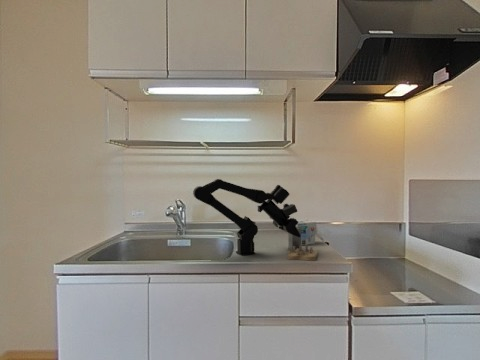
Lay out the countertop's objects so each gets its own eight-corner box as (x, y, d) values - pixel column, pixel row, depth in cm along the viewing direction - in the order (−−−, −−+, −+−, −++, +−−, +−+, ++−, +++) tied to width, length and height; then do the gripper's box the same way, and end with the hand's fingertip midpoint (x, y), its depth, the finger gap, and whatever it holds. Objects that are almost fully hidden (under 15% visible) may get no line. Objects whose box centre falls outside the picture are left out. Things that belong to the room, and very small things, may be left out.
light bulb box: (297, 246, 174) (297, 223, 173) (289, 243, 180) (289, 221, 180) (315, 243, 178) (315, 221, 178) (307, 241, 184) (307, 220, 184)
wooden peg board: (287, 259, 148) (287, 249, 148) (291, 252, 160) (291, 243, 160) (315, 260, 145) (315, 250, 145) (317, 253, 157) (317, 244, 157)
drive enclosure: (292, 251, 161) (292, 229, 161) (288, 249, 166) (288, 227, 166) (301, 251, 162) (300, 228, 162) (296, 249, 167) (296, 227, 167)
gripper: (293, 199, 153) (318, 225, 156) (279, 196, 172) (301, 219, 174) (275, 219, 152) (301, 244, 155) (263, 214, 170) (285, 237, 173)
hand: (297, 235), depth 164 cm, fingers open, 5 cm apart
